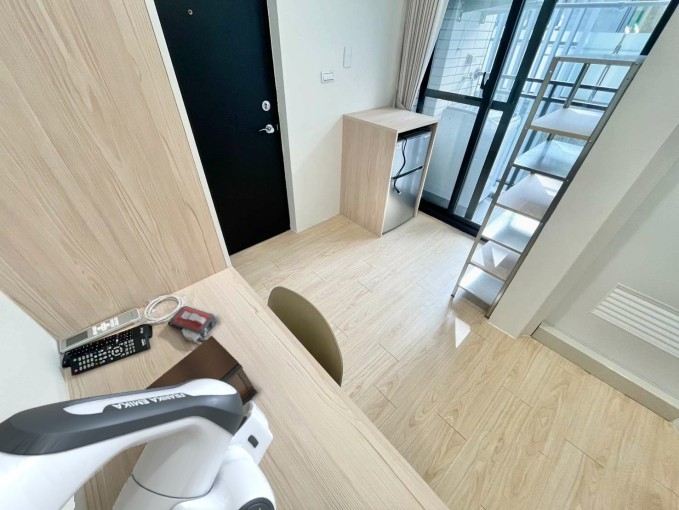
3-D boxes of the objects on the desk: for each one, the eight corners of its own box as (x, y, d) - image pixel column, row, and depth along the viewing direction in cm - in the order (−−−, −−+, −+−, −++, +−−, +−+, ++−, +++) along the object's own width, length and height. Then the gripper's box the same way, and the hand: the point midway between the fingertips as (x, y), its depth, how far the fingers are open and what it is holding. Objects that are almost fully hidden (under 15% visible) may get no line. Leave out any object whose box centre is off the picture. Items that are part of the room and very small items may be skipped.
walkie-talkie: (164, 332, 80) (221, 353, 75) (157, 324, 77) (216, 345, 72) (185, 308, 86) (239, 326, 81) (179, 300, 83) (235, 318, 78)
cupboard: (200, 453, 59) (167, 435, 48) (174, 417, 64) (139, 393, 53) (258, 392, 68) (241, 365, 57) (231, 365, 73) (211, 335, 62)
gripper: (172, 561, 38) (168, 506, 49) (280, 429, 49) (257, 409, 60) (141, 533, 37) (144, 483, 48) (259, 404, 48) (240, 388, 59)
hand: (208, 441), depth 54 cm, fingers closed
